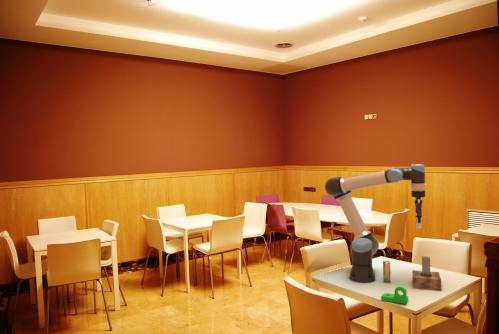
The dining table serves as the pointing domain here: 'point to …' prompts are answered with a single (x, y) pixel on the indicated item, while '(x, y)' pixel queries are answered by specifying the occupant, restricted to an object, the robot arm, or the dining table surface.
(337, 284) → the dining table surface
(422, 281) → the bore block
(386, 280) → the round bit
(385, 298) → the mechanical part
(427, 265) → the square bit
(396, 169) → the robot arm
